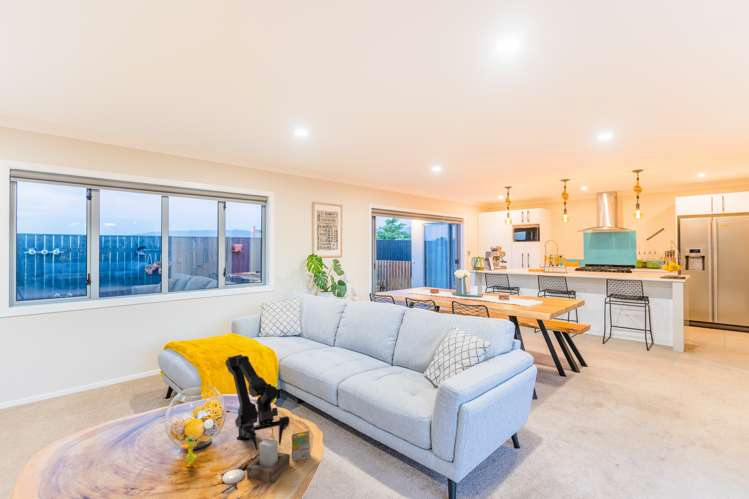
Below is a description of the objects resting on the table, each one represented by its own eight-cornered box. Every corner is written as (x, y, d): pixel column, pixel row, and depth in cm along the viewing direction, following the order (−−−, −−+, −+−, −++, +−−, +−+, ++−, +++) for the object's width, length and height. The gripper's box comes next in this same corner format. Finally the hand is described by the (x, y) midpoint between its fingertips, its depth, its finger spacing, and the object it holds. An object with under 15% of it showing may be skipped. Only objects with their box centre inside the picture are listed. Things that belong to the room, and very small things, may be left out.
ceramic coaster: (217, 481, 140) (217, 480, 140) (231, 469, 148) (231, 467, 148) (235, 485, 138) (235, 484, 138) (248, 472, 146) (248, 471, 146)
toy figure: (178, 469, 148) (178, 440, 148) (182, 463, 152) (182, 435, 152) (195, 468, 149) (194, 439, 148) (199, 463, 152) (198, 435, 152)
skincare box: (278, 469, 148) (278, 440, 147) (272, 476, 144) (271, 446, 143) (265, 466, 150) (265, 438, 149) (259, 473, 146) (258, 443, 145)
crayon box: (308, 453, 158) (308, 427, 158) (310, 457, 156) (309, 430, 155) (291, 457, 156) (291, 430, 156) (292, 461, 153) (292, 434, 153)
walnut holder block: (247, 478, 142) (246, 466, 142) (264, 460, 154) (264, 449, 154) (273, 483, 139) (273, 472, 139) (289, 464, 151) (289, 454, 150)
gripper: (242, 405, 149) (245, 446, 139) (288, 397, 156) (293, 435, 146) (241, 416, 156) (243, 455, 146) (285, 408, 163) (290, 444, 154)
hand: (268, 447), depth 148 cm, fingers open, 9 cm apart
